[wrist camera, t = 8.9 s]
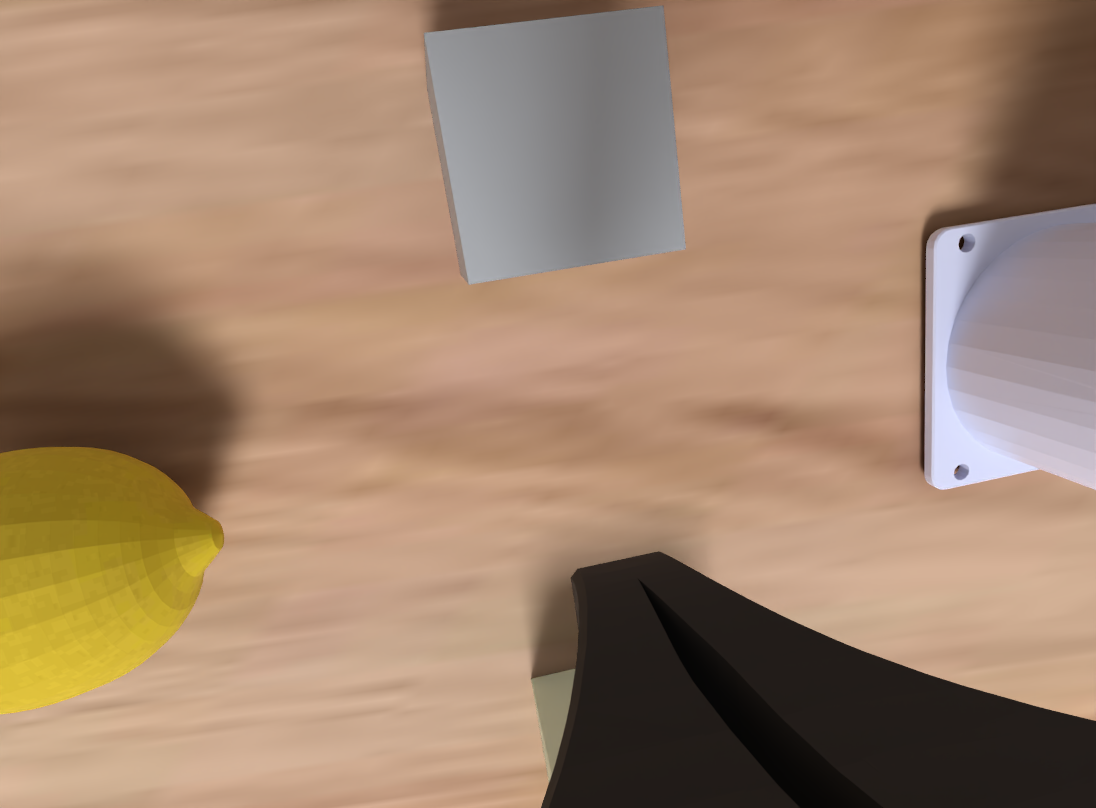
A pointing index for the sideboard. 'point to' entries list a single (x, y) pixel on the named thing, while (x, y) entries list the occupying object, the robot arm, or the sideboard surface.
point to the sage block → (552, 711)
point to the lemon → (91, 569)
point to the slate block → (556, 141)
